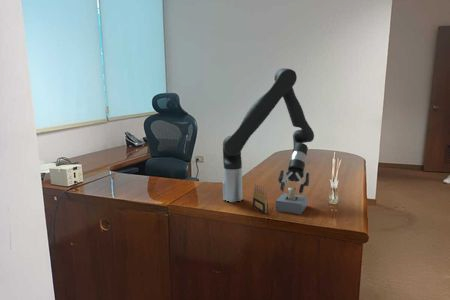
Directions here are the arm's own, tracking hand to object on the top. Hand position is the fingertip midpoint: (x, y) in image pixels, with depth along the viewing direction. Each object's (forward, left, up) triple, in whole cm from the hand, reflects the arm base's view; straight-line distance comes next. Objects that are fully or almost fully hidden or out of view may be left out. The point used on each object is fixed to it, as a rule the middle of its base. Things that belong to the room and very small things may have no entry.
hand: (291, 191), depth 161 cm
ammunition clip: (-13, -7, -9) cm, 17 cm away
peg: (0, +1, -9) cm, 9 cm away
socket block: (0, +1, -9) cm, 9 cm away
